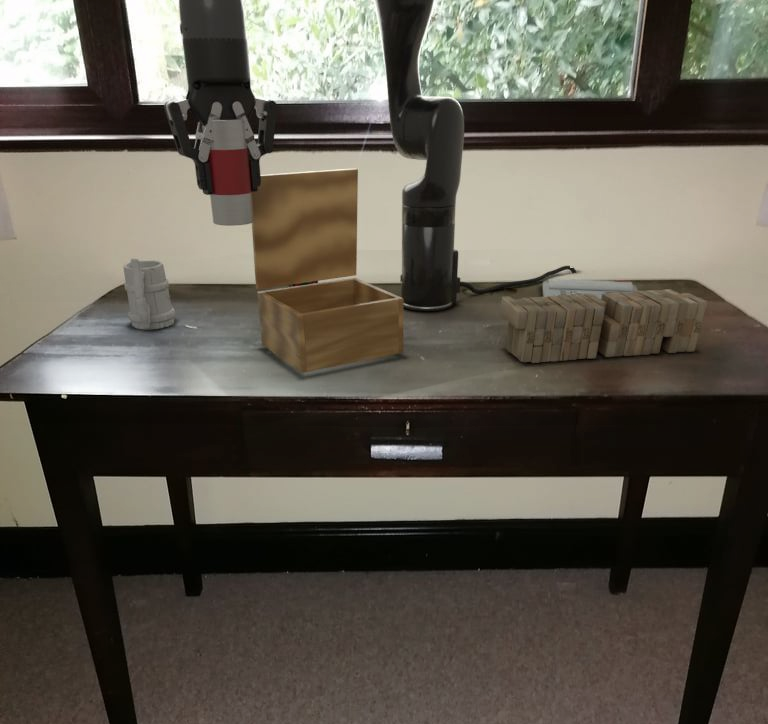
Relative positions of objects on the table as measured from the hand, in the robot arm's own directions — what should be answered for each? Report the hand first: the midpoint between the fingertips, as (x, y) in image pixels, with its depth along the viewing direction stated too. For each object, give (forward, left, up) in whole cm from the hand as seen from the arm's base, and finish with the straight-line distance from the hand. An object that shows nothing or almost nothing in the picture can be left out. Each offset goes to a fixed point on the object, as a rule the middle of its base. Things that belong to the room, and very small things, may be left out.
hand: (230, 191), depth 94 cm
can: (0, 0, -4) cm, 4 cm away
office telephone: (-67, +2, -24) cm, 71 cm away
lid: (-13, -5, -6) cm, 15 cm away
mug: (+7, -27, -24) cm, 36 cm away
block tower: (-48, +21, -24) cm, 57 cm away
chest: (-13, +1, -23) cm, 27 cm away
